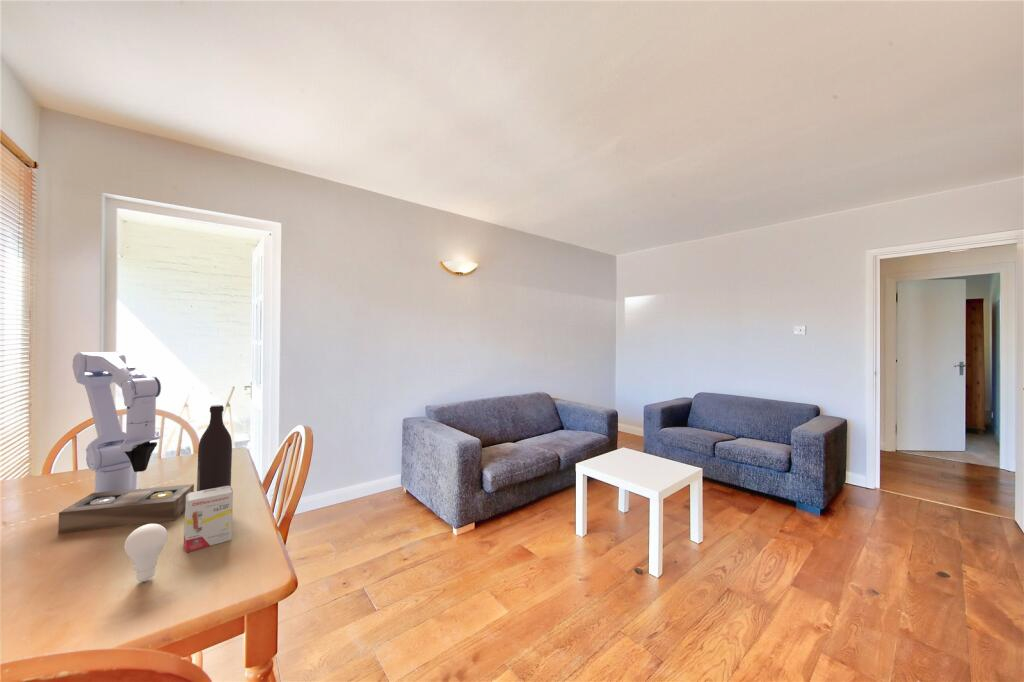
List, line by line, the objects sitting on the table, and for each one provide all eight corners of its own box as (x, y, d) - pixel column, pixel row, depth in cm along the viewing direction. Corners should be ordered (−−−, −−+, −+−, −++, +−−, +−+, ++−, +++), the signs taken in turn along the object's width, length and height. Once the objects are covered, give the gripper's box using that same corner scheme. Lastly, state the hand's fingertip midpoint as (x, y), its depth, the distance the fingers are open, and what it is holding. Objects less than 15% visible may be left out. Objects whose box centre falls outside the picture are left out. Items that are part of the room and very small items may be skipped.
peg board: (91, 511, 101) (92, 492, 101) (193, 501, 109) (193, 484, 109) (58, 533, 90) (58, 512, 90) (173, 520, 98) (174, 501, 98)
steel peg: (96, 516, 99) (97, 497, 99) (118, 514, 100) (119, 495, 100) (84, 524, 95) (85, 504, 95) (108, 521, 96) (108, 502, 96)
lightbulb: (142, 571, 77) (144, 518, 77) (174, 571, 78) (176, 517, 77) (113, 591, 71) (115, 533, 71) (148, 591, 71) (150, 533, 71)
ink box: (184, 553, 84) (186, 500, 84) (183, 544, 87) (185, 493, 87) (232, 540, 90) (233, 490, 90) (229, 532, 93) (230, 484, 93)
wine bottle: (218, 510, 104) (221, 402, 104) (236, 515, 102) (239, 404, 102) (189, 522, 97) (192, 406, 97) (207, 527, 95) (211, 409, 95)
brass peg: (154, 510, 103) (155, 492, 103) (175, 508, 105) (175, 490, 105) (146, 517, 99) (146, 498, 99) (167, 515, 101) (168, 496, 101)
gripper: (145, 426, 98) (144, 478, 98) (171, 415, 112) (171, 461, 112) (110, 427, 96) (108, 481, 96) (141, 417, 109) (140, 464, 109)
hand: (140, 470), depth 104 cm, fingers closed
